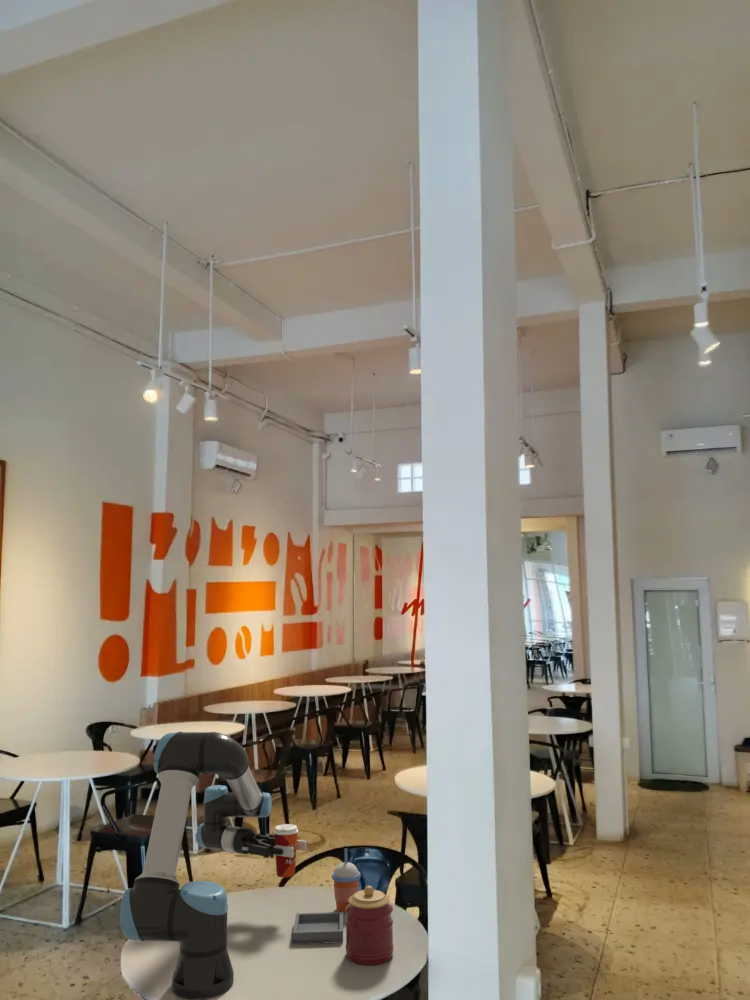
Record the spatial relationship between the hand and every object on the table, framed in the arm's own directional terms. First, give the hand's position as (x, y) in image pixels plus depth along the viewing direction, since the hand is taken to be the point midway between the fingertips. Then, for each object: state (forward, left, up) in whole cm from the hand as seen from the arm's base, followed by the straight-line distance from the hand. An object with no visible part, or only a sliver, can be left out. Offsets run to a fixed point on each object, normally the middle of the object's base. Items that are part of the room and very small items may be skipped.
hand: (299, 849), depth 237 cm
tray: (+6, -12, -20) cm, 24 cm away
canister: (+21, -27, -20) cm, 39 cm away
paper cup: (-4, +3, -8) cm, 10 cm away
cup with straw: (+14, +5, -20) cm, 25 cm away
